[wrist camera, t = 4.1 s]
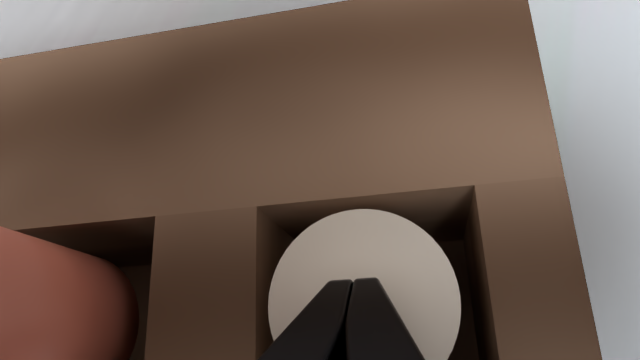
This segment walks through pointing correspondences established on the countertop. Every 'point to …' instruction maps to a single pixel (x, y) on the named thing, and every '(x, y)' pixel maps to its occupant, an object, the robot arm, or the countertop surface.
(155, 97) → the wooden socket block
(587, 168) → the countertop surface
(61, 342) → the brick key
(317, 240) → the white key
